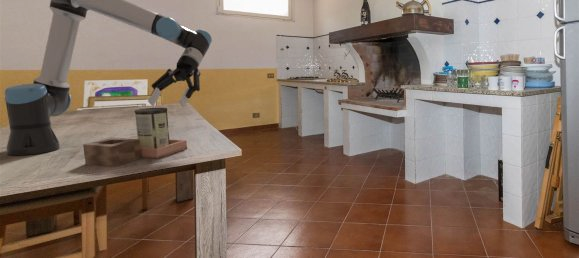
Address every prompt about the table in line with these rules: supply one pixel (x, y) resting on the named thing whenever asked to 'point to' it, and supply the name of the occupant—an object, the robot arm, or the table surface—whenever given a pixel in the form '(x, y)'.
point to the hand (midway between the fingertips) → (165, 104)
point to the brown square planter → (112, 151)
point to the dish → (164, 149)
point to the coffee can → (152, 127)
